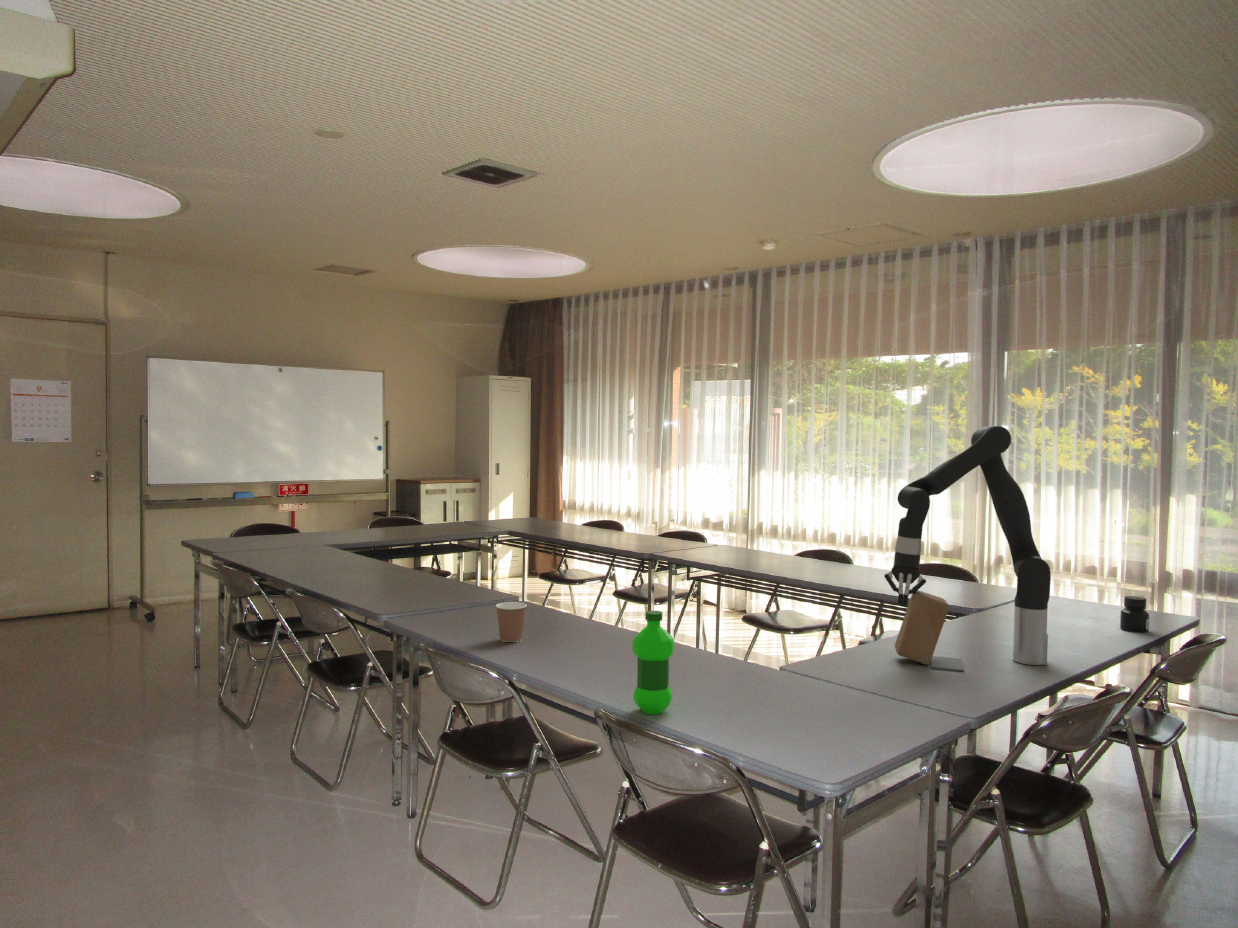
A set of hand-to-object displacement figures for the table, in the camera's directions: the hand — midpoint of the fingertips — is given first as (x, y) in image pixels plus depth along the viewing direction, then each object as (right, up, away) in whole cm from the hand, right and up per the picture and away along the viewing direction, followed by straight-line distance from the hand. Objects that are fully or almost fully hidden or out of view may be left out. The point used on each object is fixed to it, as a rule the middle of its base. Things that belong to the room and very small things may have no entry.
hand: (902, 605), depth 257 cm
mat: (+12, -17, -5) cm, 22 cm away
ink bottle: (+100, -17, +44) cm, 110 cm away
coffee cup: (-125, -15, +18) cm, 127 cm away
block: (+2, -16, -1) cm, 16 cm away
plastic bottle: (-80, -18, -50) cm, 96 cm away
